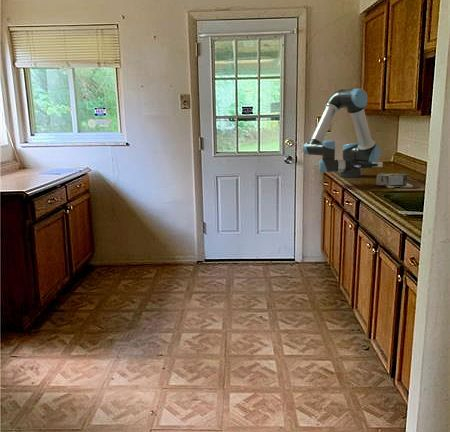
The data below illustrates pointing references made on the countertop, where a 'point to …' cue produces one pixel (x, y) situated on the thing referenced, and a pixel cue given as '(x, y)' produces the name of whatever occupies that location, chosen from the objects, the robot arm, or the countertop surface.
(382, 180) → the coffee box
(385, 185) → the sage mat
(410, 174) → the countertop surface
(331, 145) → the robot arm
